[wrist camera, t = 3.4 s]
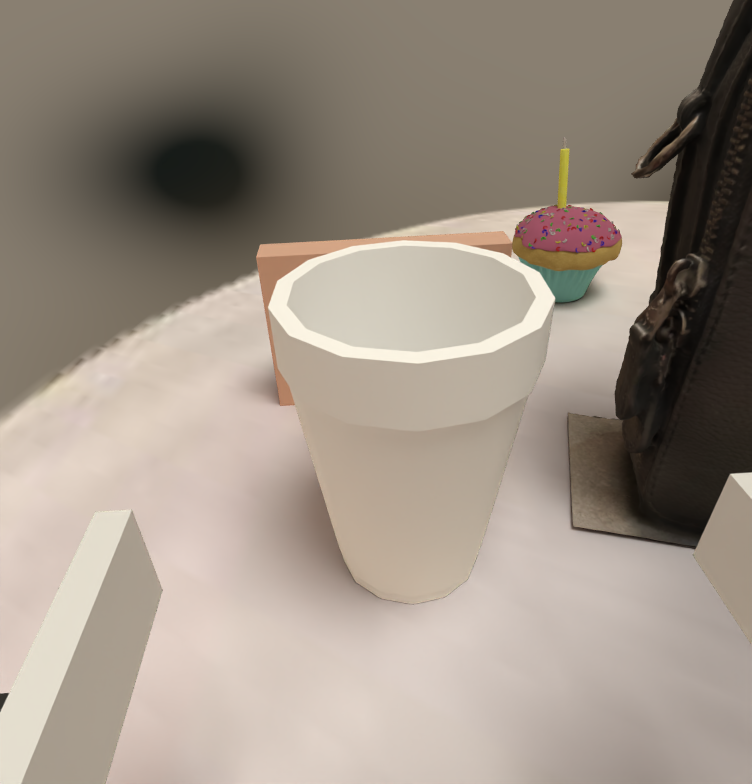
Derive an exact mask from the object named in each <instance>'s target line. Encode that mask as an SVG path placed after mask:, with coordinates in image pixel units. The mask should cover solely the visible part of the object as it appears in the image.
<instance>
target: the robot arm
mask: <svg viewBox="0 0 752 784" xmlns="http://www.w3.org/2000/svg"><path fill="white" fill-rule="evenodd" d="M693 556H694V558H695V559H696V561H697V562H698V564H699V565H700V567H701V568H702V570H703V571H704V573H705V574H706V576H707V578H708V579H709V581H710V582H711V584H712V585H713V587H714V588H715V590H716V591H717V593H718V594H719V596H720V597H721V599H722V600H723V602H724V603H725V605H726V606H727V608H728V610H729V611H730V613H731V614H732V616H733V617H734V619H735V620H736V622H737V623H738V625H739V626H740V628H741V629H742V631H743V632H744V634H745V635H746V637H747V638H748V640H749V641H750V643H751V645H752V473H735V474H730V475H729V477H728V479H727V482H726V484H725V486H724V488H723V490H722V493H721V495H720V497H719V499H718V501H717V504H716V506H715V508H714V510H713V512H712V514H711V517H710V519H709V521H708V523H707V525H706V528H705V530H704V532H703V534H702V536H701V539H700V541H699V543H698V545H697V547H696V550H695V552H694V554H693ZM162 591H163V590H162V587H161V584H160V582H159V579H158V577H157V574H156V571H155V569H154V566H153V563H152V561H151V558H150V556H149V553H148V550H147V548H146V545H145V543H144V540H143V537H142V535H141V532H140V529H139V527H138V524H137V522H136V519H135V516H134V514H133V511H132V510H118V511H101V512H95V514H94V516H93V518H92V520H91V522H90V524H89V526H88V529H87V531H86V533H85V535H84V537H83V539H82V541H81V543H80V545H79V548H78V550H77V552H76V554H75V556H74V558H73V560H72V562H71V564H70V566H69V569H68V571H67V573H66V575H65V577H64V579H63V581H62V583H61V585H60V587H59V590H58V592H57V594H56V596H55V598H54V600H53V602H52V604H51V606H50V609H49V611H48V613H47V615H46V617H45V619H44V621H43V623H42V625H41V627H40V630H39V632H38V634H37V636H36V638H35V640H34V642H33V644H32V646H31V648H30V651H29V653H28V655H27V657H26V659H25V661H24V663H23V665H22V667H21V670H20V672H19V674H18V676H17V678H16V680H15V682H14V684H13V686H12V688H11V691H10V693H3V694H0V784H105V783H106V780H107V777H108V773H109V770H110V767H111V763H112V760H113V756H114V753H115V750H116V746H117V743H118V739H119V736H120V733H121V729H122V726H123V723H124V719H125V716H126V712H127V709H128V706H129V702H130V699H131V695H132V692H133V689H134V685H135V682H136V679H137V675H138V672H139V668H140V665H141V662H142V658H143V655H144V652H145V648H146V645H147V641H148V638H149V635H150V631H151V628H152V624H153V621H154V618H155V614H156V611H157V608H158V604H159V601H160V597H161V594H162Z"/></svg>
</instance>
